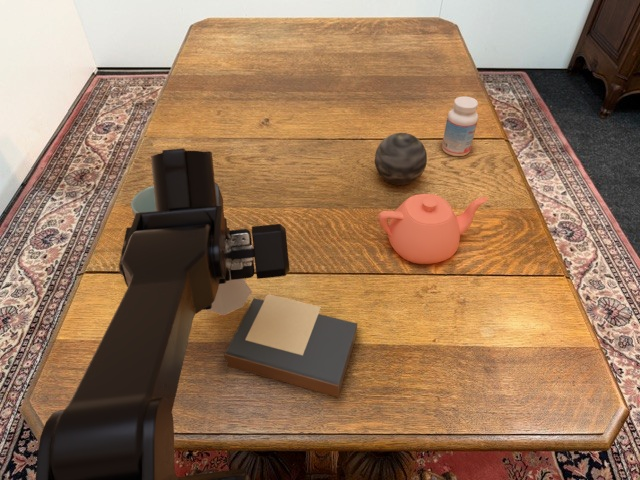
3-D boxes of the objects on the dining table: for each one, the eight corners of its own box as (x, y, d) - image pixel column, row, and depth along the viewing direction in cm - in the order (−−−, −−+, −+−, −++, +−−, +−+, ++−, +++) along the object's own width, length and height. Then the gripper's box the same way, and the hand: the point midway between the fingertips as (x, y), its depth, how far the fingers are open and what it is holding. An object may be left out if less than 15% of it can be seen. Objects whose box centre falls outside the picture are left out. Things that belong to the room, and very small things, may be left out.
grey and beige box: (338, 397, 62) (338, 385, 60) (227, 366, 66) (224, 354, 64) (358, 328, 70) (359, 316, 68) (258, 303, 73) (256, 291, 71)
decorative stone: (426, 169, 97) (434, 127, 90) (418, 199, 90) (426, 156, 83) (378, 161, 99) (382, 119, 92) (367, 190, 93) (371, 147, 85)
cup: (171, 222, 87) (157, 178, 80) (201, 239, 84) (190, 195, 76) (138, 247, 82) (120, 203, 75) (168, 266, 79) (152, 222, 72)
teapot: (369, 222, 86) (372, 181, 79) (465, 214, 87) (476, 173, 80) (382, 272, 77) (387, 231, 71) (488, 263, 79) (503, 221, 72)
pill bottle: (470, 158, 99) (482, 111, 91) (440, 155, 100) (450, 107, 92) (470, 143, 104) (481, 95, 96) (441, 139, 105) (451, 93, 97)
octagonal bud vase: (189, 297, 67) (172, 248, 60) (227, 268, 71) (216, 219, 64) (223, 324, 64) (210, 275, 57) (261, 292, 68) (253, 242, 61)
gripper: (280, 172, 49) (280, 190, 65) (95, 189, 48) (141, 203, 63) (291, 279, 49) (289, 271, 65) (106, 299, 47) (149, 286, 63)
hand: (218, 256), depth 64 cm, fingers closed on octagonal bud vase, 3 cm apart
